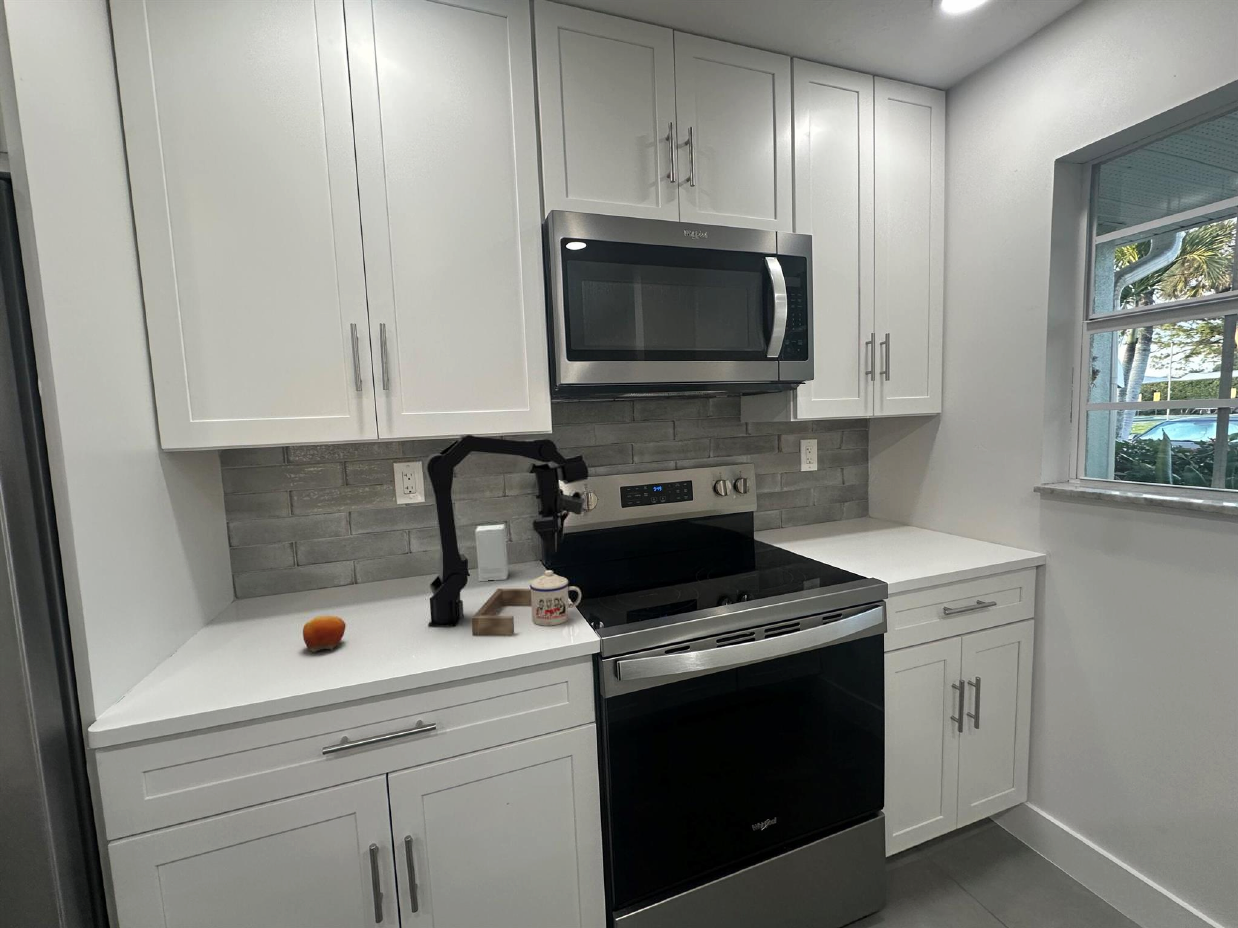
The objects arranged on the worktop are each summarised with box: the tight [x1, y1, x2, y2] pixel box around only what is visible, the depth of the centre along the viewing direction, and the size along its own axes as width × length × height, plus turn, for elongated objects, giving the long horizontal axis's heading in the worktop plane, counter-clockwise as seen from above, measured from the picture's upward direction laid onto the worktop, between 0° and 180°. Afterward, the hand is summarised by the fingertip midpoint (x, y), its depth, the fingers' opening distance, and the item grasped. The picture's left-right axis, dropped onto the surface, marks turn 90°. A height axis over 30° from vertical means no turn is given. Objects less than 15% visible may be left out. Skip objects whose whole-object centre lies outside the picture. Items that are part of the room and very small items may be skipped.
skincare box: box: [474, 524, 509, 582], centre depth 161 cm, size 8×7×16 cm
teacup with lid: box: [529, 569, 582, 627], centre depth 128 cm, size 12×9×12 cm
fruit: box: [302, 615, 347, 655], centre depth 115 cm, size 8×8×8 cm
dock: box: [471, 588, 532, 637], centre depth 129 cm, size 9×20×4 cm, turn 176°
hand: (557, 547), depth 139 cm, fingers open, 9 cm apart
